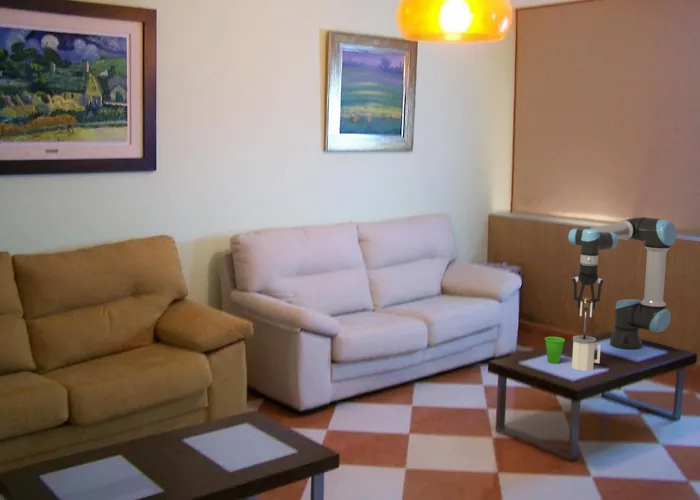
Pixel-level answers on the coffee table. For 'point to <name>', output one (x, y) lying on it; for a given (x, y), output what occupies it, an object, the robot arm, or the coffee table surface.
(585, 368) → the press
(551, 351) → the cup
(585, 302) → the plunger
